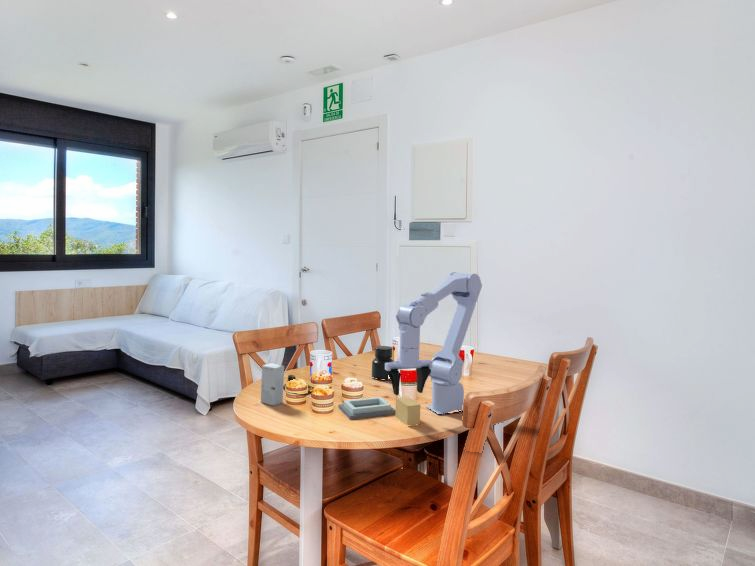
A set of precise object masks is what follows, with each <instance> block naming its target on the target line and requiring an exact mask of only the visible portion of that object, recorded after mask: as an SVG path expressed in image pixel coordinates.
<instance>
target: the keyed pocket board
mask: <svg viewBox="0 0 755 566" xmlns="http://www.w3.org/2000/svg"><path fill="white" fill-rule="evenodd" d="M337 406H338V409H339V410H340V411H341V413H343V415H345V416H346V417H347V418H348V419H349V420H357V419H363V418H364V419H365V418H375V417H382V416H389V415H390V414H392V415H395V414H396V408H394V407H392V404H391V403H390V402H388V401H386V400H385V399H384V398H382V397H380V396H377V397H367V398H357V399H350V400H349V399H348V400H347V399H346V400H343V404H341V403H340V404H337ZM390 416H391V415H390Z"/></svg>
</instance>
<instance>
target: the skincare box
mask: <svg viewBox="0 0 755 566" xmlns="http://www.w3.org/2000/svg"><path fill="white" fill-rule="evenodd" d="M284 378H285V366H284V365H281V364H277V363H273V362H272V363H271V362H270V363H266V364H264V365H262V366H261V385H260V386H261V387H260V403H263V404H266V405H269V406H278V405H280V404H282V403H283V402H284V401H283V400H284V399H283V398H284V389H283V386H284V384H285V383H284V380H285V379H284Z"/></svg>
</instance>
